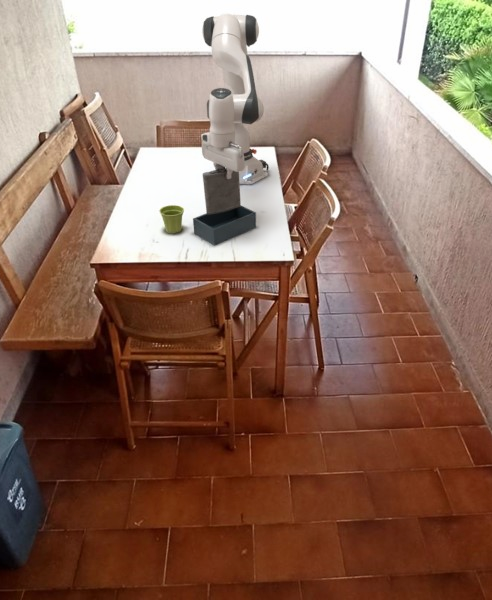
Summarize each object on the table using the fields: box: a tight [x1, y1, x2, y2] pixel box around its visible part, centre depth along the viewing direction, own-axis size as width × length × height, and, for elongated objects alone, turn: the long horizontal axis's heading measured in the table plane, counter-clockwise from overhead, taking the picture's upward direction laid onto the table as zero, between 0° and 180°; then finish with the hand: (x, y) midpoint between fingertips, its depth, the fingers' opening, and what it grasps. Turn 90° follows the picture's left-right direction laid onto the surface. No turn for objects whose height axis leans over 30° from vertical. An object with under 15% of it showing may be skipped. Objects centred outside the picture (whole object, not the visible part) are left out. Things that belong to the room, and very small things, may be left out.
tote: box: [192, 205, 257, 246], centre depth 191 cm, size 22×13×7 cm, turn 133°
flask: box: [202, 164, 242, 215], centre depth 182 cm, size 4×14×18 cm, turn 118°
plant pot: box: [158, 204, 185, 234], centre depth 190 cm, size 9×9×9 cm
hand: (223, 176), depth 180 cm, fingers closed on flask, 4 cm apart
